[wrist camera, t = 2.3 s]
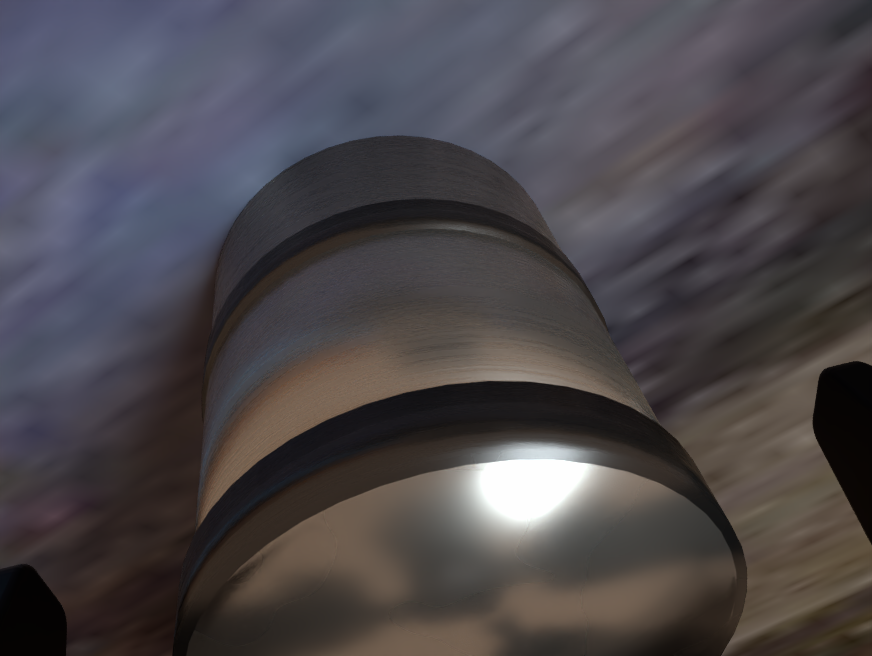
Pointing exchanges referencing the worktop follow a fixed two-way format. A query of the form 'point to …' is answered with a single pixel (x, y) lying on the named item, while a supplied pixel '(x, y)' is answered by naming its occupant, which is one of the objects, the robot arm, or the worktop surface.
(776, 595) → the worktop surface
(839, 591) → the worktop surface
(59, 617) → the robot arm
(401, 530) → the lens
